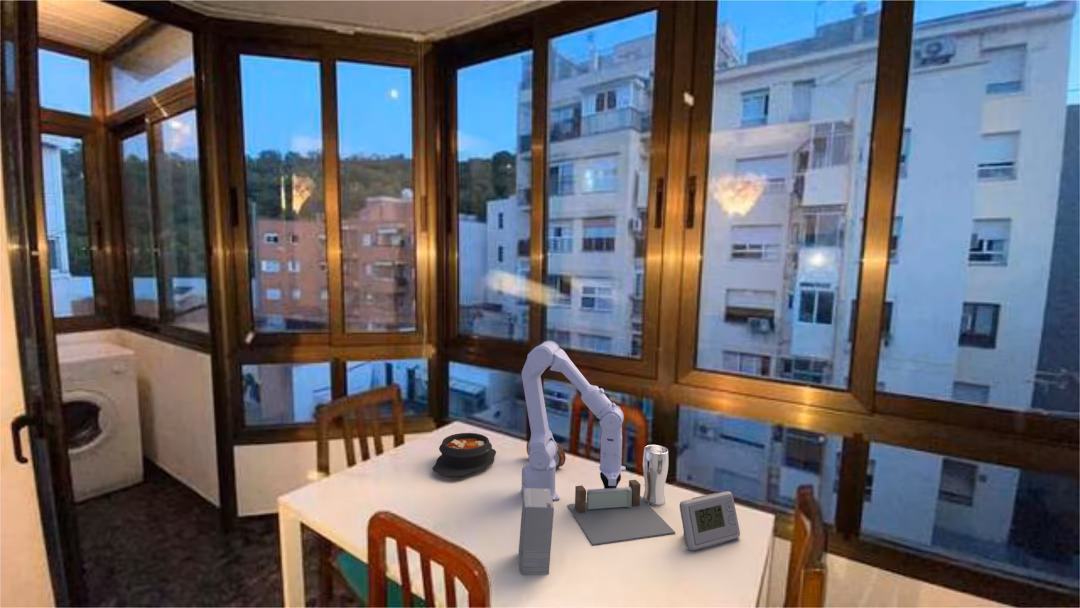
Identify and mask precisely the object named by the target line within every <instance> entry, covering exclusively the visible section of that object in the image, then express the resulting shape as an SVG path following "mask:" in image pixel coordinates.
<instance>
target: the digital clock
mask: <svg viewBox="0 0 1080 608" xmlns="http://www.w3.org/2000/svg"><path fill="white" fill-rule="evenodd" d="M679 513H680V517H681V523H682V529H683V536H684V540H685V544H686V548H687V549H688V550H689V551H697V550H699V549H700V550H703V548H704V549H707V548H710V546H711V547H713V545H714V546H717V544H718V545H721V544H724V542H725V543H728V542H727V541H729V542H730V541H733V540H736V539H739V537H740V536H741V531H740V525H739V521H738V520H739V519H738V515H737V511H736V506H735V499H734V496H733V494H732V491H729V490H727V491H722V492H714V493H709V494H705V495H701V496H696V497H692V498H691V499H687V500H683V501H680V503H679ZM720 543H721V544H720ZM706 547H707V548H706Z"/></svg>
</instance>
